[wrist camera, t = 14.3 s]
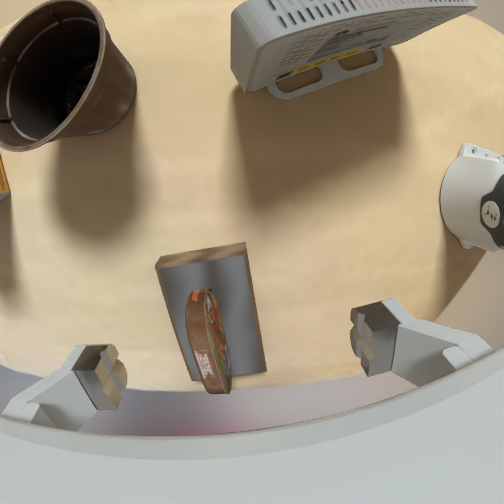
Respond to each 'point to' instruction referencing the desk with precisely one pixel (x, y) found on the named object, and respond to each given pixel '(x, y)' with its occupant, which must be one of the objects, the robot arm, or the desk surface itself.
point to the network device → (324, 36)
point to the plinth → (228, 297)
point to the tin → (208, 341)
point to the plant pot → (60, 76)
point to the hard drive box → (3, 183)
